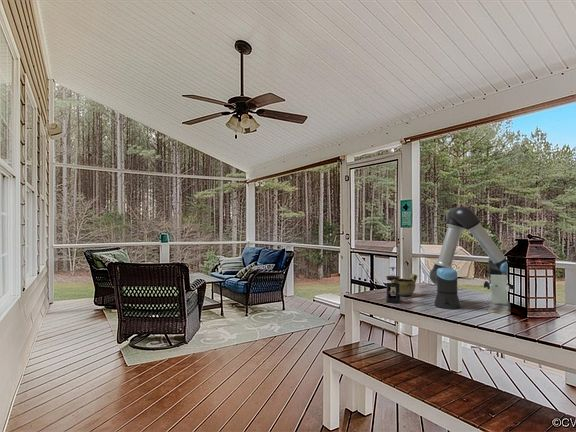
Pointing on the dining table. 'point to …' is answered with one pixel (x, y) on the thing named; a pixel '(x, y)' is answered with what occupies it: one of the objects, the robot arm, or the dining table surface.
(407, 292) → the ceramic bowl
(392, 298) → the french press
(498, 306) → the cradle
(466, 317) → the dining table surface
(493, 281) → the flat rectangular panel
